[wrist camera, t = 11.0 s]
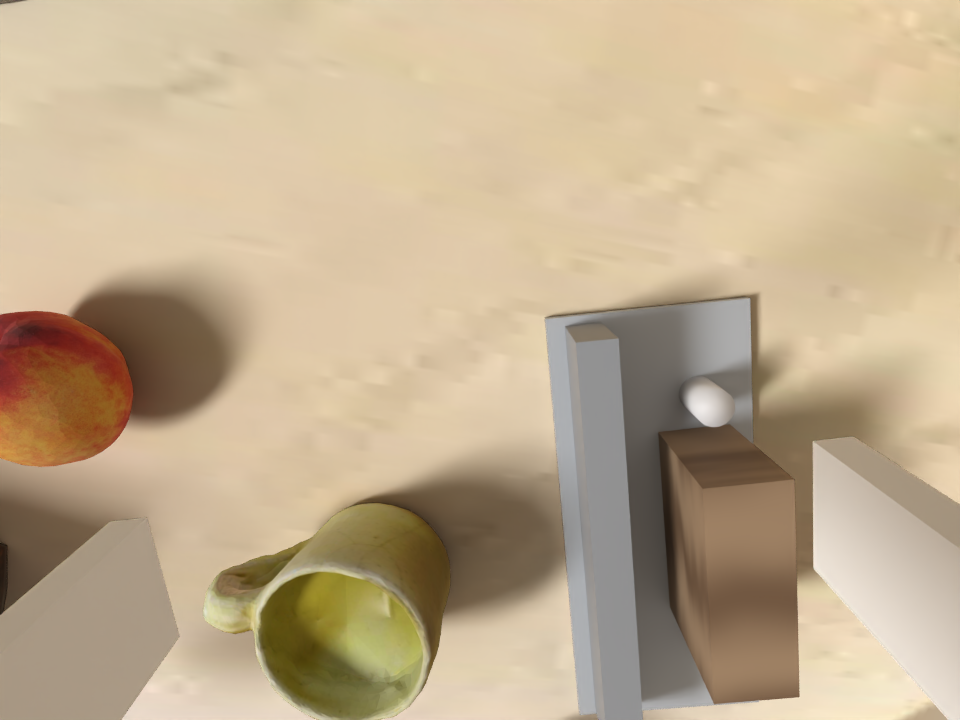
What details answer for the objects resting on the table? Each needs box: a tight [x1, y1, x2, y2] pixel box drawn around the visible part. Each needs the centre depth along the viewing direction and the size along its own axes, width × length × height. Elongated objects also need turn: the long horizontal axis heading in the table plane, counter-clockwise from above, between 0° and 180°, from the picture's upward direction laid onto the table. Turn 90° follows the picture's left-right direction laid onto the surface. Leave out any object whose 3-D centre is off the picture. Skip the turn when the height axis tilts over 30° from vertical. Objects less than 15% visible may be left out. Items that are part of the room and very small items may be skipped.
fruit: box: [0, 311, 133, 467], centre depth 33 cm, size 8×8×8 cm
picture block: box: [658, 424, 799, 704], centre depth 33 cm, size 11×4×8 cm, turn 7°
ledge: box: [545, 297, 759, 720], centre depth 35 cm, size 25×11×6 cm, turn 6°
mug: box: [203, 503, 450, 720], centre depth 35 cm, size 12×10×10 cm
